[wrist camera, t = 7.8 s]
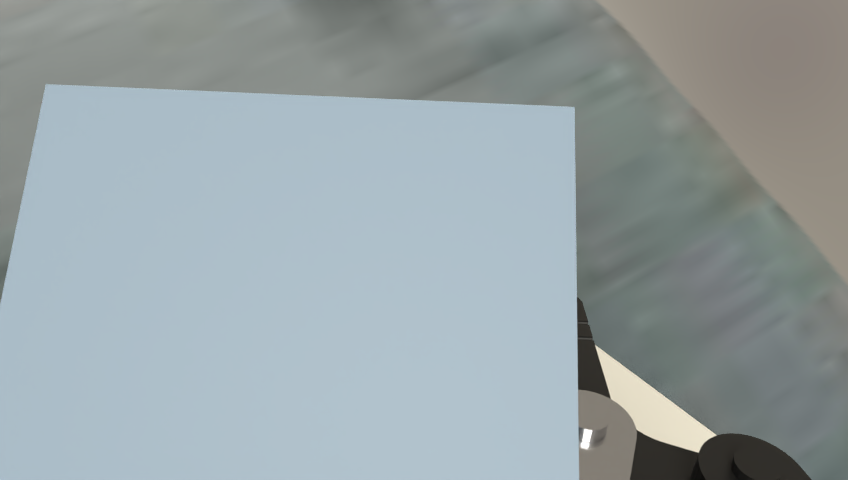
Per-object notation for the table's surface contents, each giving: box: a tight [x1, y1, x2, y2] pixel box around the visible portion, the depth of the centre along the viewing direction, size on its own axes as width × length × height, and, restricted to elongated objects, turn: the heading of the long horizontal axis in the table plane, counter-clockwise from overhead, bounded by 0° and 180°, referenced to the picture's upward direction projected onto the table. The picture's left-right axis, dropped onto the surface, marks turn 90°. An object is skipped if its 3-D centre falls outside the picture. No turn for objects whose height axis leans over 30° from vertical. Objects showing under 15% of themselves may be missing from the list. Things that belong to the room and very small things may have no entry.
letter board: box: [595, 345, 717, 453], centre depth 25 cm, size 21×15×2 cm
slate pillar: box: [0, 84, 579, 480], centre depth 11 cm, size 5×5×12 cm
